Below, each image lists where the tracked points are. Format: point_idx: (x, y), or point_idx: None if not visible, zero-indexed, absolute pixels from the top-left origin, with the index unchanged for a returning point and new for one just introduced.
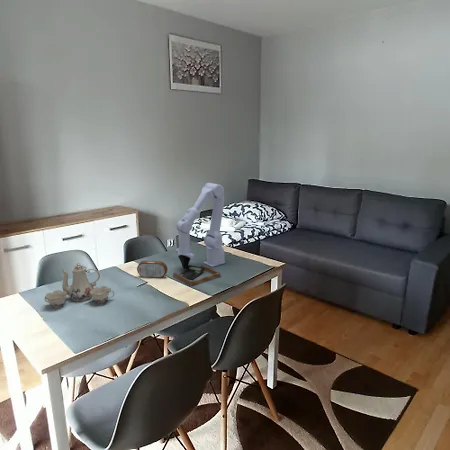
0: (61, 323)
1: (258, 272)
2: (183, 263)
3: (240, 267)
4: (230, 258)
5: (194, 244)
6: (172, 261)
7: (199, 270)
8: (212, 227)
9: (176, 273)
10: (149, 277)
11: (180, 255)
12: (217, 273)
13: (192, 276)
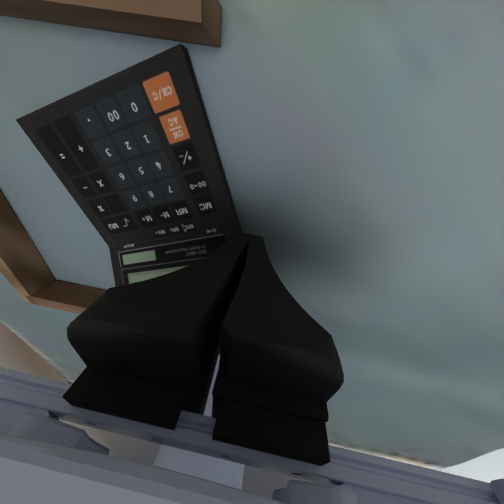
0: None
1: (54, 362)
2: (212, 258)
3: None
4: None
5: (457, 463)
6: (496, 321)
7: (133, 275)
8: None
9: (147, 13)
10: None
11: (309, 396)
12: (19, 289)
13: (88, 176)
